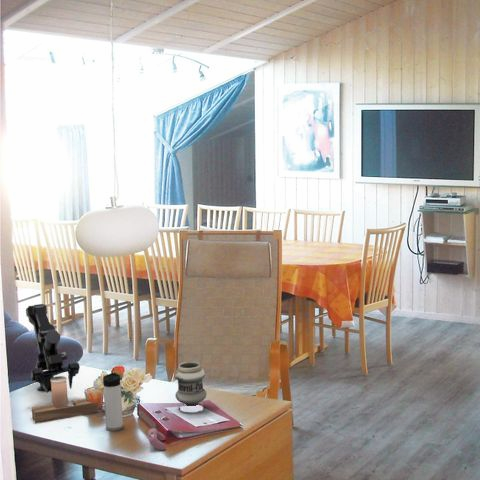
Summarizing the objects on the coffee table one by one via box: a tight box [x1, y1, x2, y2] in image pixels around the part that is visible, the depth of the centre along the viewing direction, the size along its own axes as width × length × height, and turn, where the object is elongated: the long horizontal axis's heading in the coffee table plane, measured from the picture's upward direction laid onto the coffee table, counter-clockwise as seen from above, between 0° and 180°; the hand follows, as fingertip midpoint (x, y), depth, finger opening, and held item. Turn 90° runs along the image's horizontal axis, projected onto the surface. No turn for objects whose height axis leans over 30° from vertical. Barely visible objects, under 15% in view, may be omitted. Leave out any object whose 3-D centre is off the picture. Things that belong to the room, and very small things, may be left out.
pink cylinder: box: [51, 375, 69, 408], centre depth 321 cm, size 6×6×12 cm
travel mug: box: [102, 372, 124, 432], centre depth 297 cm, size 6×7×20 cm
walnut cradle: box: [31, 397, 99, 424], centre depth 314 cm, size 7×24×4 cm, turn 114°
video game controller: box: [147, 427, 166, 451], centre depth 280 cm, size 10×5×7 cm, turn 6°
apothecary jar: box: [174, 361, 207, 406], centre depth 314 cm, size 12×12×18 cm
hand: (59, 390), depth 321 cm, fingers open, 9 cm apart
